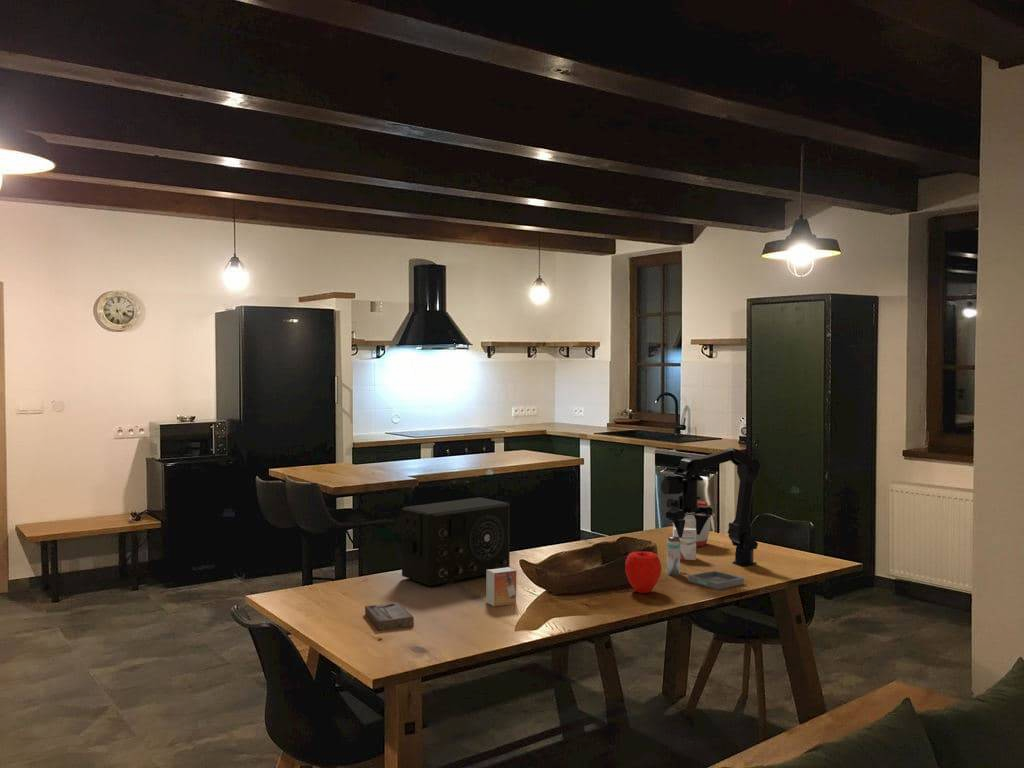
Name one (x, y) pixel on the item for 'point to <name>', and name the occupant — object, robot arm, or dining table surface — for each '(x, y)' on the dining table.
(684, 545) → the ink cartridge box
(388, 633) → the dining table surface
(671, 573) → the canister
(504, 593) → the small box
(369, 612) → the box
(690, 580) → the tray
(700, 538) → the citrus juicer
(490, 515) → the vintage radio
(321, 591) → the dining table surface
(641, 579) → the apple
